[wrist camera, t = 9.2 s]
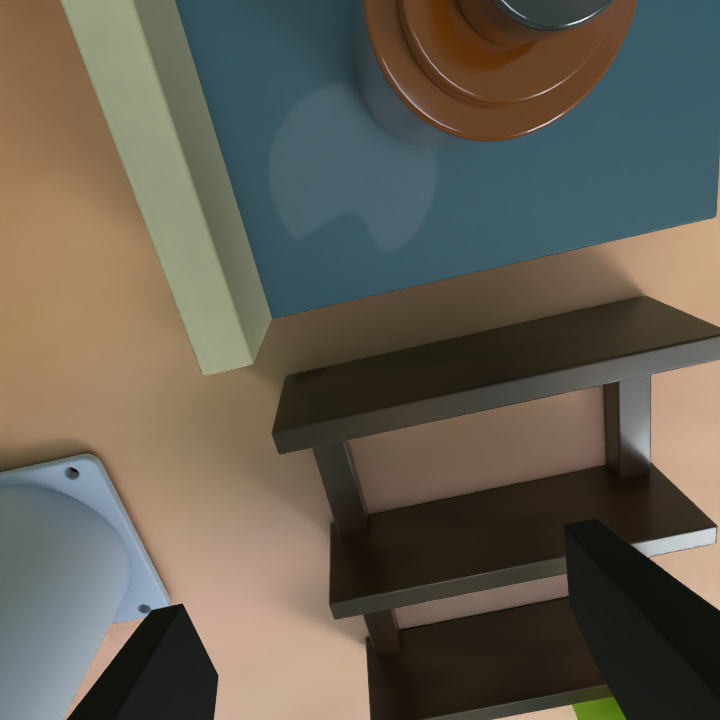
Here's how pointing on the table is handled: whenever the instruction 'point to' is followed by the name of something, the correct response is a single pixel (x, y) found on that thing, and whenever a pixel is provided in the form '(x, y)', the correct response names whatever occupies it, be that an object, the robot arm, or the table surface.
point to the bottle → (481, 64)
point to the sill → (373, 159)
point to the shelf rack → (493, 503)
